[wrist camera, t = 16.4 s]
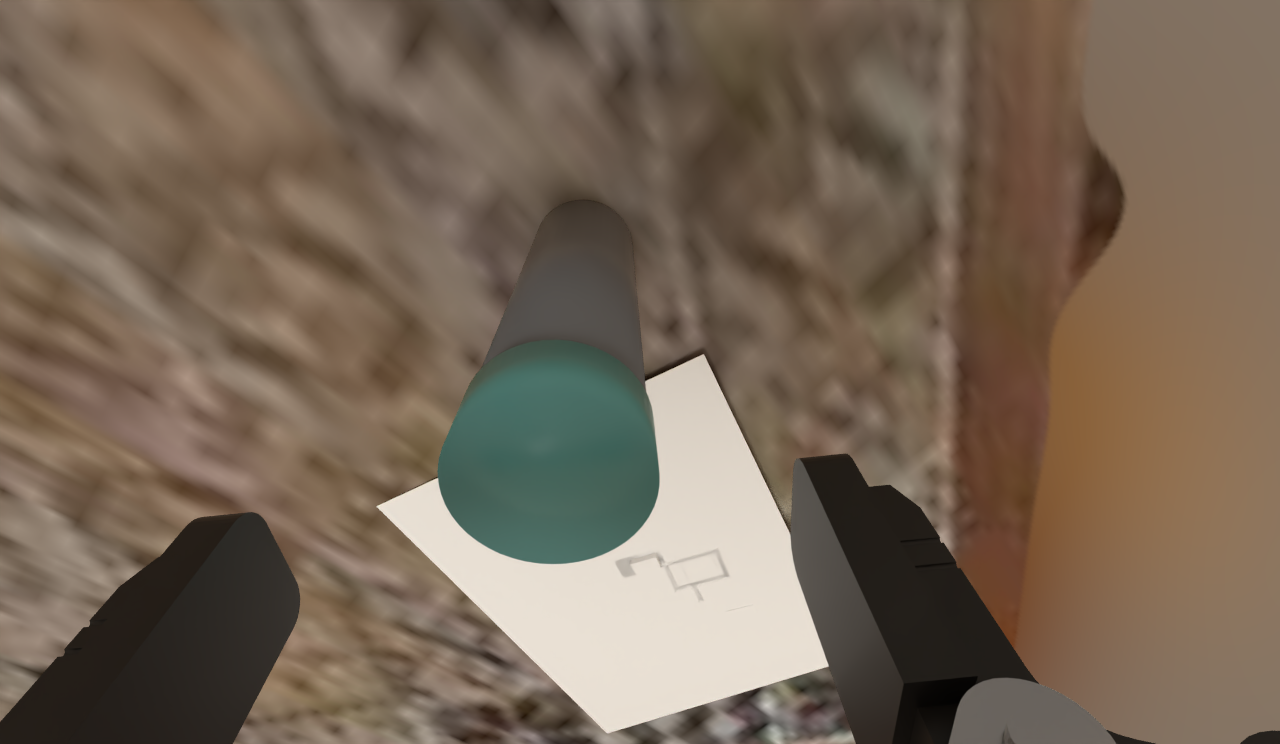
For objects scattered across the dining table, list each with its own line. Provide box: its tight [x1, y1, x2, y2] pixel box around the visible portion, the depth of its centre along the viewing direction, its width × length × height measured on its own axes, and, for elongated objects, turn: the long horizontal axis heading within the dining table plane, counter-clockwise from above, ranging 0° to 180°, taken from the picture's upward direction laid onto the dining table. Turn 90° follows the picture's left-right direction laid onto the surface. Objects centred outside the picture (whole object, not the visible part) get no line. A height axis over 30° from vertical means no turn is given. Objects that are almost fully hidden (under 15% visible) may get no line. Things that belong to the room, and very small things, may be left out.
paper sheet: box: [377, 354, 829, 733], centre depth 32 cm, size 24×29×1 cm
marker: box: [438, 200, 660, 564], centre depth 17 cm, size 4×4×14 cm
